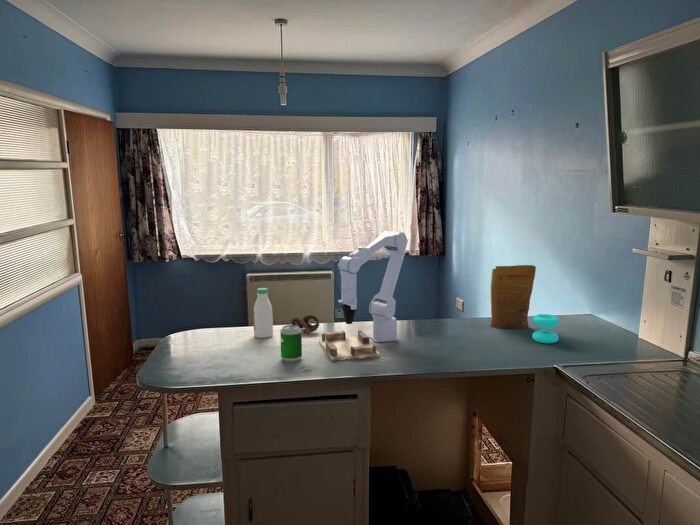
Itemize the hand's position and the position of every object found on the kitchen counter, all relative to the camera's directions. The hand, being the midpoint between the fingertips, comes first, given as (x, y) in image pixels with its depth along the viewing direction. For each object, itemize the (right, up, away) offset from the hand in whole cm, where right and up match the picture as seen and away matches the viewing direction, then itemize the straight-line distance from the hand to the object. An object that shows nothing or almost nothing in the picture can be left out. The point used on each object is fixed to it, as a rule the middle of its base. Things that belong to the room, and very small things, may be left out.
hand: (348, 323), depth 188 cm
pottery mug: (-19, -7, +24) cm, 31 cm away
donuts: (+79, -8, +12) cm, 80 cm away
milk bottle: (-35, -7, +18) cm, 40 cm away
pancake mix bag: (+71, -6, +30) cm, 77 cm away
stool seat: (0, -10, +1) cm, 10 cm away
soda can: (-21, -12, -10) cm, 26 cm away
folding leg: (-5, -7, +9) cm, 13 cm away
